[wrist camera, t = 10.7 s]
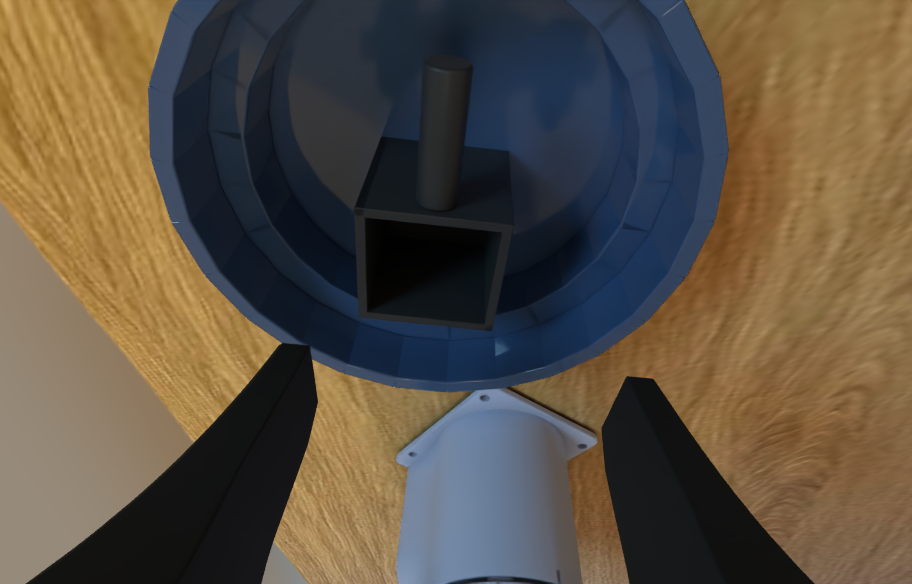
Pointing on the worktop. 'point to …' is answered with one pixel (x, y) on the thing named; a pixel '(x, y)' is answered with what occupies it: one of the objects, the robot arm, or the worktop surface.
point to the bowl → (488, 126)
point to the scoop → (435, 215)
